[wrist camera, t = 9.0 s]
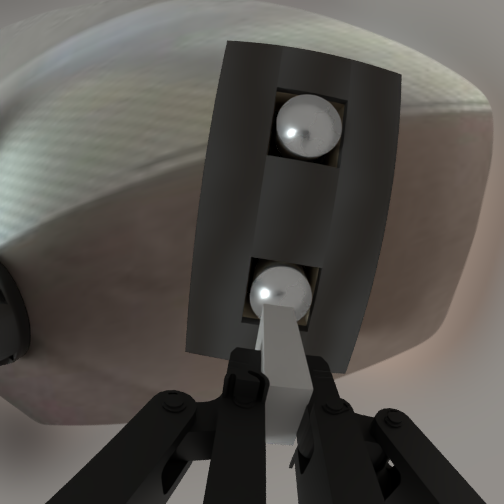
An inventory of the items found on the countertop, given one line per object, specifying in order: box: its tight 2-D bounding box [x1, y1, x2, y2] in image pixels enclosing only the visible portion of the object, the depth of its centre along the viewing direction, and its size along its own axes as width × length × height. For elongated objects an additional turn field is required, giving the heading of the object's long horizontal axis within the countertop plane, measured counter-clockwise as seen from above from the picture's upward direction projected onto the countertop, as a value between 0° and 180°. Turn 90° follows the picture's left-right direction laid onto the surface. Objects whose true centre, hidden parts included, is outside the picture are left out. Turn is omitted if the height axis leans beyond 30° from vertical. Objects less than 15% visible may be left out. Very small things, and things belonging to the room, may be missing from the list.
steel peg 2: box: [250, 258, 312, 321], centre depth 22 cm, size 4×4×6 cm
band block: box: [185, 41, 402, 374], centre depth 21 cm, size 12×22×6 cm, turn 171°
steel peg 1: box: [275, 95, 342, 162], centre depth 19 cm, size 4×4×6 cm
